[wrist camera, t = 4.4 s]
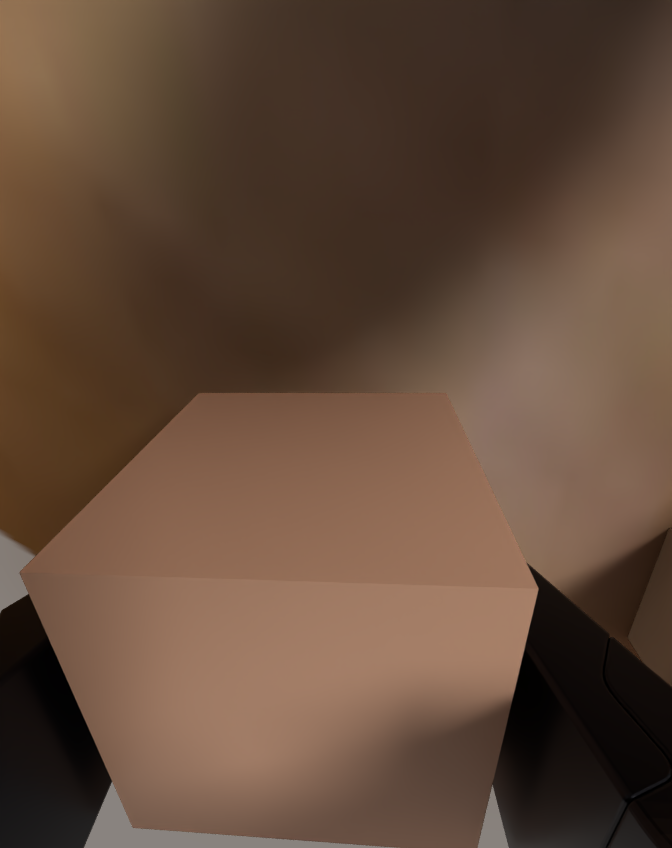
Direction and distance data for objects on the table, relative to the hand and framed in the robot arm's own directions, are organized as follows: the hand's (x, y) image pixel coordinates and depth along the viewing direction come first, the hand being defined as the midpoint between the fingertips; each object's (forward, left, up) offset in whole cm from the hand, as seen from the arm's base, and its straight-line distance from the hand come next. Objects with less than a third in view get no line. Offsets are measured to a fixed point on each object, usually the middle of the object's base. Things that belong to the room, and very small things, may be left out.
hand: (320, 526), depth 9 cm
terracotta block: (0, 0, -1) cm, 1 cm away
